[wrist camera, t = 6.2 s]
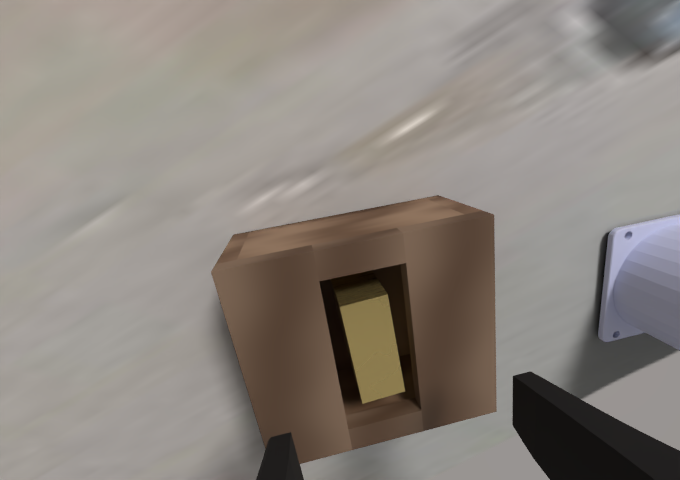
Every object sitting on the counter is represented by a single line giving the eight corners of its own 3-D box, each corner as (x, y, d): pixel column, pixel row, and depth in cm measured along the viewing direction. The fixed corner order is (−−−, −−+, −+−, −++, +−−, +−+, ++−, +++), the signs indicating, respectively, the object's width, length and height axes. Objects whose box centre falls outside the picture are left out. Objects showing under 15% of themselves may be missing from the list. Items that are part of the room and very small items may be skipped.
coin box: (438, 195, 17) (494, 214, 13) (448, 349, 21) (496, 411, 16) (233, 234, 16) (211, 271, 12) (276, 391, 19) (272, 471, 15)
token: (363, 257, 17) (387, 294, 13) (378, 335, 19) (405, 391, 15) (326, 266, 17) (339, 307, 13) (345, 344, 19) (362, 403, 14)
